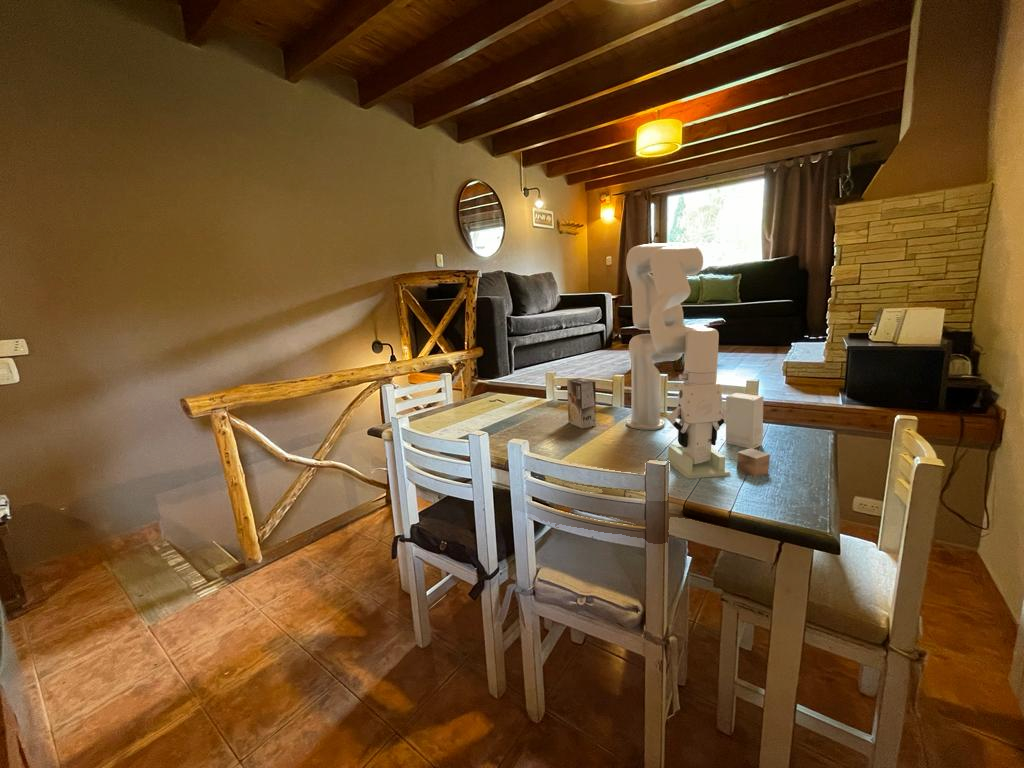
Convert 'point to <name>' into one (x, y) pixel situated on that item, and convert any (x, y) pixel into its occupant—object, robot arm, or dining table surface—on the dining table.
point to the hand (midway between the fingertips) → (697, 444)
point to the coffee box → (581, 402)
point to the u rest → (696, 470)
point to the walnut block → (753, 462)
